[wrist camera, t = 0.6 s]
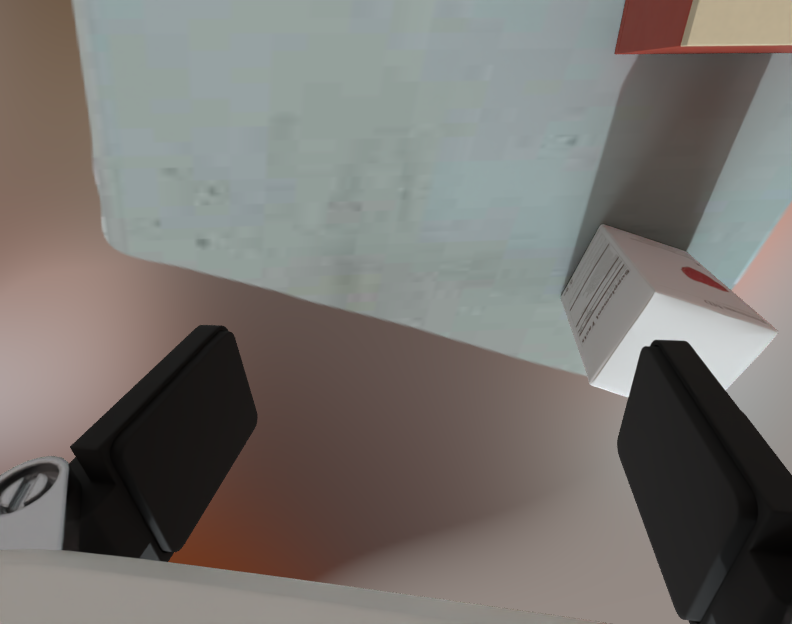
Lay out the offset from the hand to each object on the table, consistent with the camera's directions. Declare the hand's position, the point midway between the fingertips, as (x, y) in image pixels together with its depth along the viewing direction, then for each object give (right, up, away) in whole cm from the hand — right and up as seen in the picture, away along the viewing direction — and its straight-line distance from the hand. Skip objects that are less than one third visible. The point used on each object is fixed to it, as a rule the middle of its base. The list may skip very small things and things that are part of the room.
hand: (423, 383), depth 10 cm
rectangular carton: (+22, +5, +33) cm, 40 cm away
